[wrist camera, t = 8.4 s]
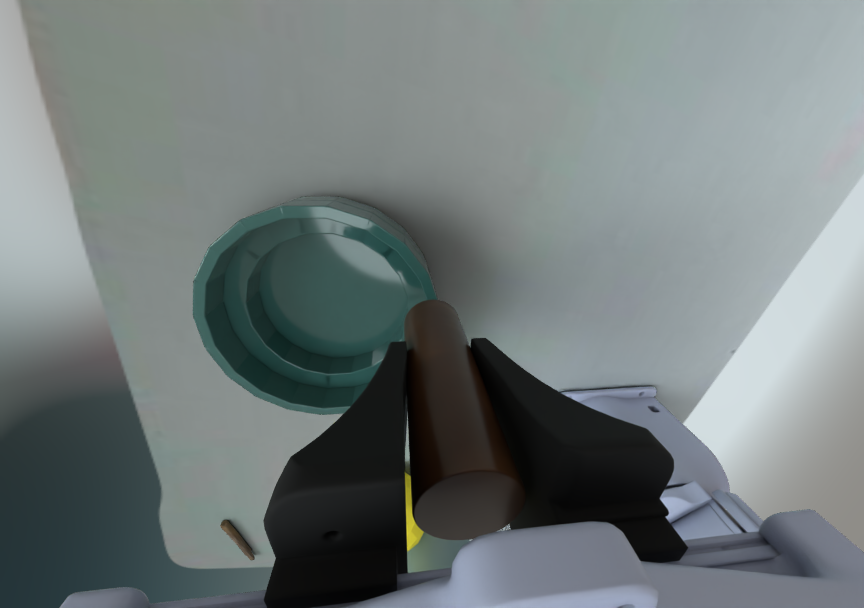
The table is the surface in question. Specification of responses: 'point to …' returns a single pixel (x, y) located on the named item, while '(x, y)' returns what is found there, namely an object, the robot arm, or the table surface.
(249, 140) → the table surface
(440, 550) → the cup
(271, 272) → the bowl
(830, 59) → the table surface
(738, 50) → the table surface
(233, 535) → the stick
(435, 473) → the brown cylinder
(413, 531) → the lemon
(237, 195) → the table surface
